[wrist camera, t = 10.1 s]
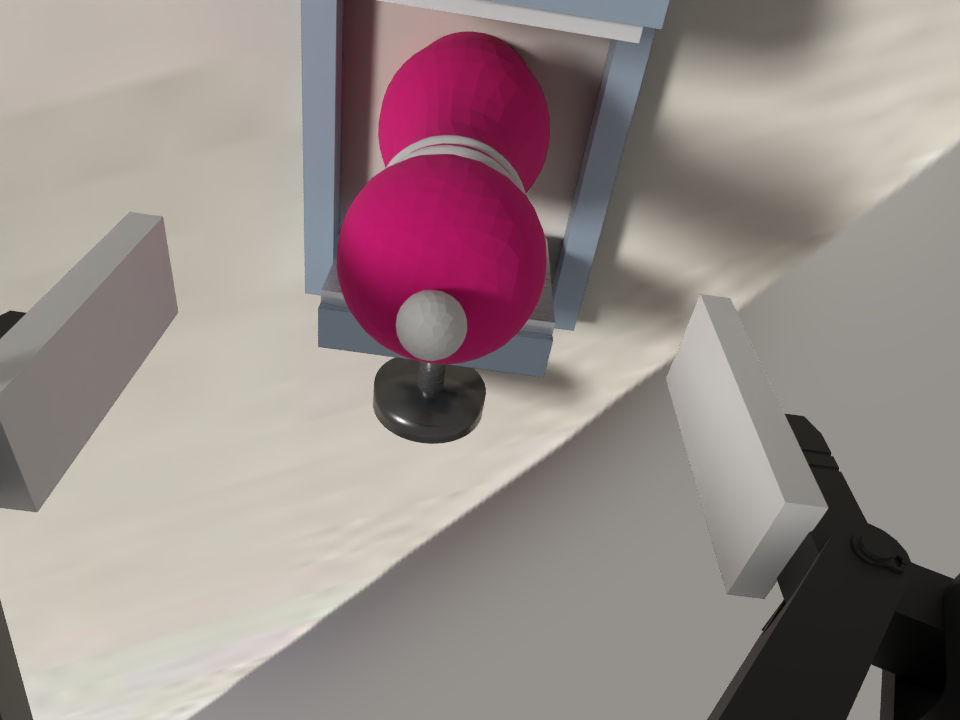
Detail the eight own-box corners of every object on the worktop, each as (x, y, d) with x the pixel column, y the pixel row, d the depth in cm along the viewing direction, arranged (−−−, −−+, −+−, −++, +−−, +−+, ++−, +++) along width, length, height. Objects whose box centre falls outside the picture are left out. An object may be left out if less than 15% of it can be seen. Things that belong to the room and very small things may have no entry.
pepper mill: (572, 59, 31) (638, 277, 15) (508, 197, 35) (506, 485, 19) (423, -10, 29) (318, 149, 13) (374, 142, 33) (249, 403, 17)
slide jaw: (357, 206, 35) (318, 296, 28) (546, 234, 36) (555, 329, 29) (352, 345, 41) (318, 451, 33) (517, 367, 41) (518, 476, 34)
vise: (307, -163, 26) (231, -170, 19) (681, -97, 27) (743, -80, 20) (311, 279, 38) (265, 377, 31) (571, 316, 39) (585, 419, 32)
